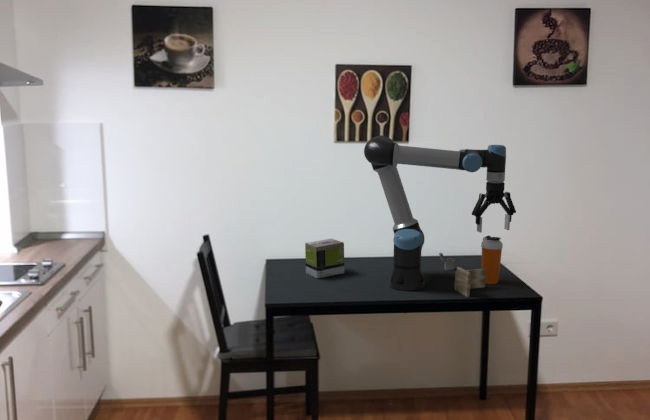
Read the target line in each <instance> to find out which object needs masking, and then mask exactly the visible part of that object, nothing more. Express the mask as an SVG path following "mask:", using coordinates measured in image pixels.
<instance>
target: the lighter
mask: <svg viewBox="0 0 650 420" xmlns="http://www.w3.org/2000/svg"><path fill="white" fill-rule="evenodd" d="M438 255H439V257H440V260H441V261H442V263H444V270H445V271H447V270H449V271H451V270H453V271H454V270H455V259H453V258H452V257H447V259H445V256H444V254H443V252H439V253H438Z"/></svg>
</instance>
